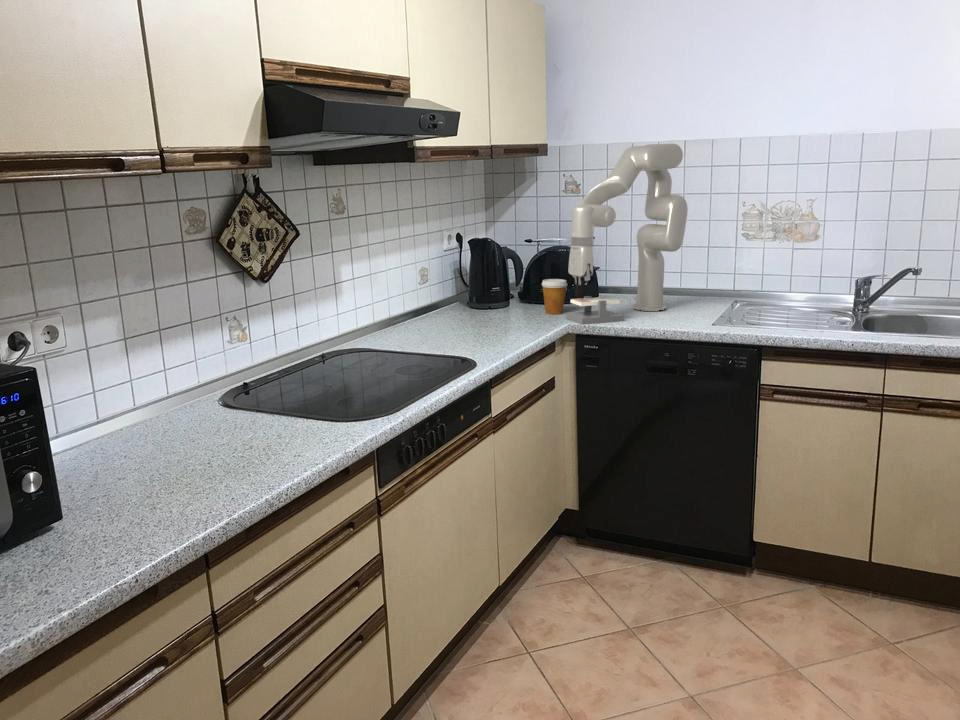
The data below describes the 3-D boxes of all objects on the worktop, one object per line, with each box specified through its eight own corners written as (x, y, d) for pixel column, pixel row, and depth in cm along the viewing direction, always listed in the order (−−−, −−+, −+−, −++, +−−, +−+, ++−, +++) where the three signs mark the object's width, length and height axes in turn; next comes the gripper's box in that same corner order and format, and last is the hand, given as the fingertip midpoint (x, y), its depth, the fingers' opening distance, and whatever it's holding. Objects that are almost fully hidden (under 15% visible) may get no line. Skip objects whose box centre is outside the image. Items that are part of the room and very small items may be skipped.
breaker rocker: (570, 302, 274) (570, 298, 274) (607, 300, 279) (607, 296, 279) (581, 306, 266) (581, 302, 266) (619, 303, 272) (620, 299, 271)
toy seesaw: (566, 318, 277) (566, 297, 275) (606, 315, 282) (606, 294, 281) (582, 324, 266) (582, 302, 264) (623, 321, 272) (624, 299, 270)
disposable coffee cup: (571, 312, 290) (572, 279, 287) (559, 316, 282) (560, 282, 279) (548, 309, 295) (548, 278, 292) (536, 313, 287) (536, 281, 284)
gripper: (562, 241, 272) (561, 293, 276) (582, 244, 258) (580, 299, 262) (581, 240, 274) (580, 292, 278) (602, 244, 261) (600, 298, 265)
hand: (580, 296), depth 270 cm, fingers closed
